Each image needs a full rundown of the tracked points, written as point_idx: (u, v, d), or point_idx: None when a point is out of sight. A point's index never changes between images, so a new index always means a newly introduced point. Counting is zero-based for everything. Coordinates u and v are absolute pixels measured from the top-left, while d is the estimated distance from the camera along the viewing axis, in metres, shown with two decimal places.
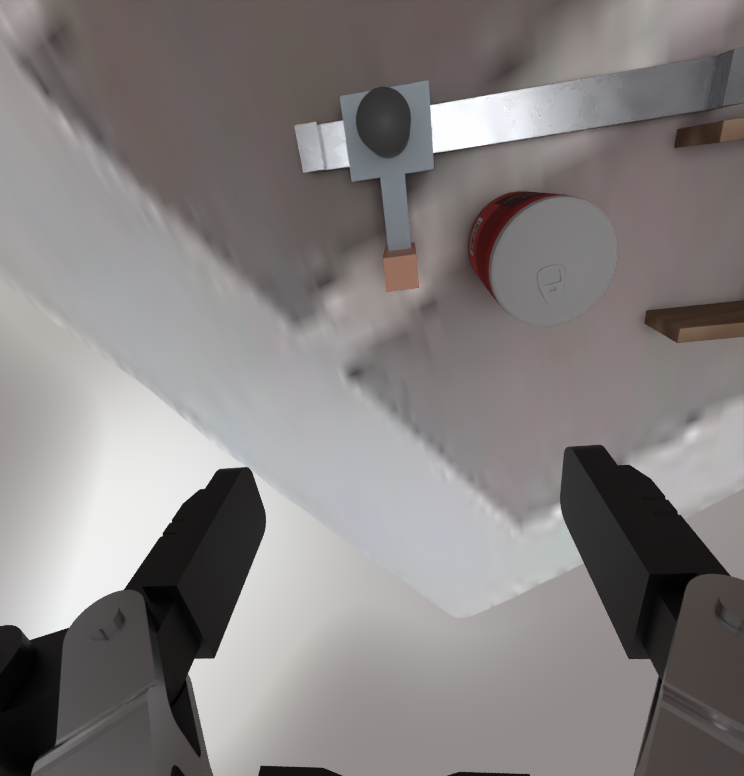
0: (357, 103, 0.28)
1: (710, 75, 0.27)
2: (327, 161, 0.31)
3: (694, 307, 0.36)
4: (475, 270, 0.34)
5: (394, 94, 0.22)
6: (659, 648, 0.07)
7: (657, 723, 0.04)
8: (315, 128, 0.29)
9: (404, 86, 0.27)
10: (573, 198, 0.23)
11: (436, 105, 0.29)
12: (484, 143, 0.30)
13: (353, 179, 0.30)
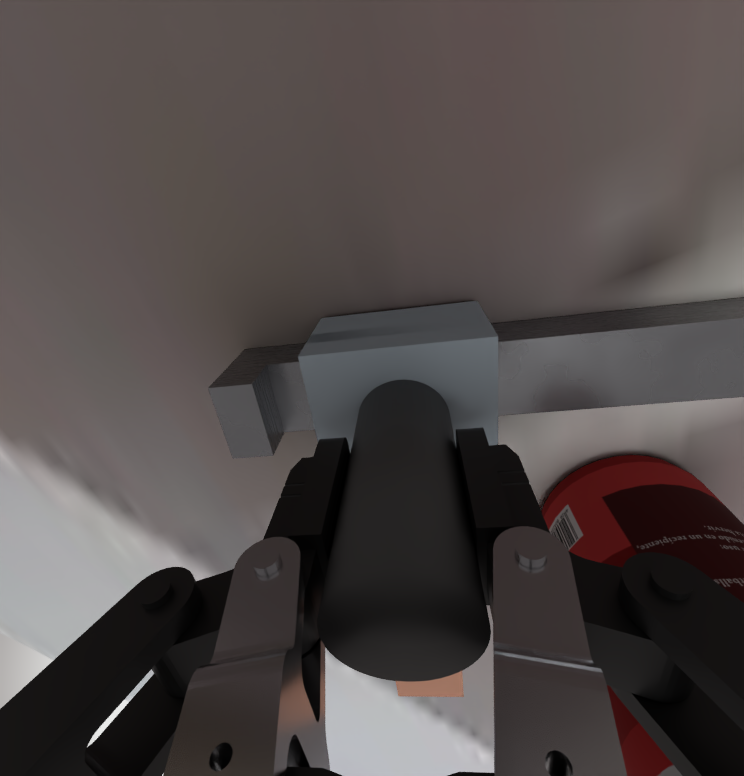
0: (337, 370, 0.13)
1: None
2: (283, 420, 0.16)
3: None
4: None
5: (440, 589, 0.07)
6: (489, 591, 0.08)
7: (495, 681, 0.05)
8: (251, 394, 0.14)
9: (442, 345, 0.12)
10: None
11: (500, 343, 0.14)
12: (593, 406, 0.15)
13: None
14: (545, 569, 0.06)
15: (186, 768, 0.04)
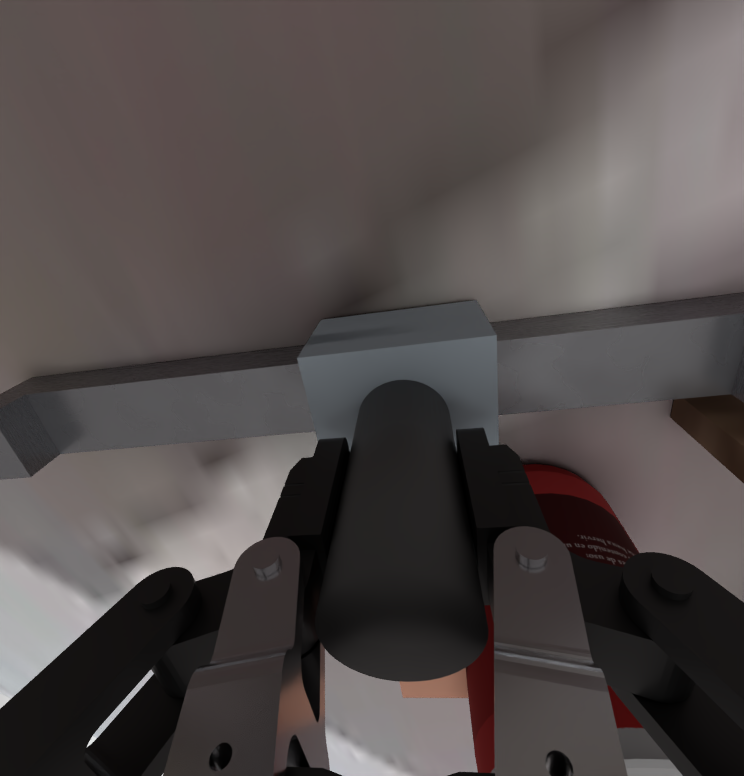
0: (336, 371, 0.13)
1: (739, 343, 0.14)
2: (56, 443, 0.18)
3: None
4: None
5: (437, 588, 0.07)
6: (491, 591, 0.08)
7: (495, 681, 0.05)
8: None
9: (440, 345, 0.12)
10: None
11: (218, 373, 0.16)
12: None
13: None
14: (545, 569, 0.06)
15: (186, 768, 0.04)
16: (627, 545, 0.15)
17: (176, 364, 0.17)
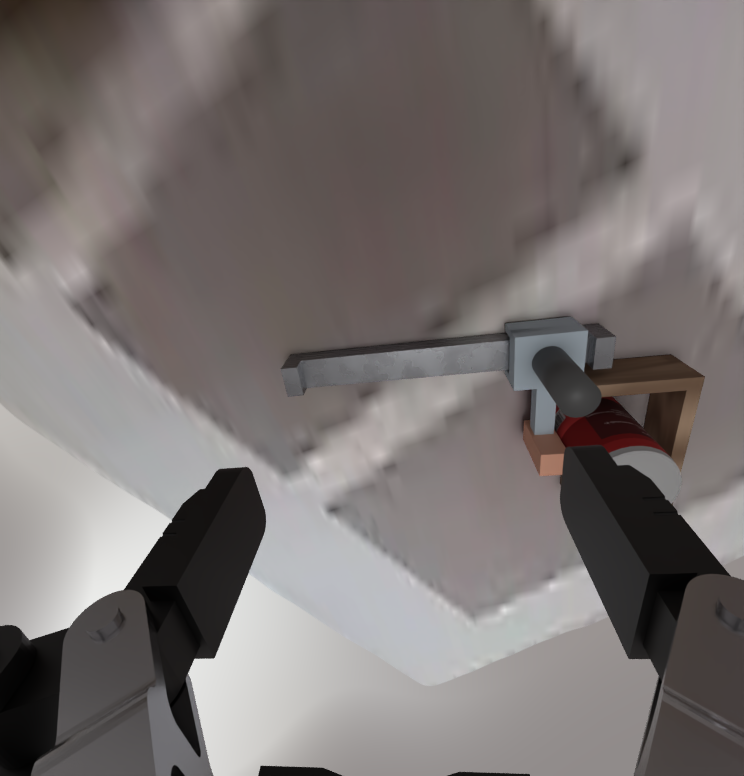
0: (528, 342, 0.35)
1: None
2: (306, 382, 0.41)
3: None
4: None
5: (591, 386, 0.29)
6: (659, 648, 0.07)
7: (657, 723, 0.04)
8: (296, 371, 0.39)
9: (568, 333, 0.35)
10: (653, 452, 0.32)
11: (386, 352, 0.39)
12: (424, 376, 0.40)
13: (515, 389, 0.37)
14: None
15: None
16: (630, 415, 0.38)
17: (362, 349, 0.41)
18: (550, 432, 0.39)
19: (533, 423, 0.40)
